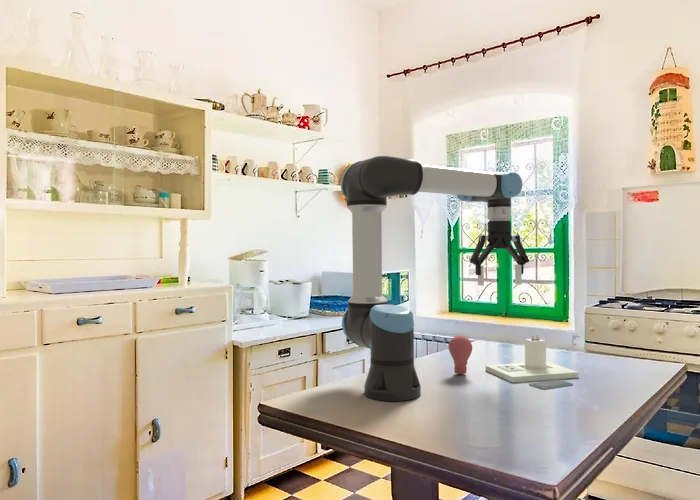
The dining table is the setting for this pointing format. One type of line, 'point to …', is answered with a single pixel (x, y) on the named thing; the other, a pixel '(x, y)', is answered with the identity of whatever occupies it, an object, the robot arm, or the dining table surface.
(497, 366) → the outlet plate
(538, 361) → the charger
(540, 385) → the phone
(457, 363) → the light bulb
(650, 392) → the dining table surface
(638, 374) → the dining table surface
